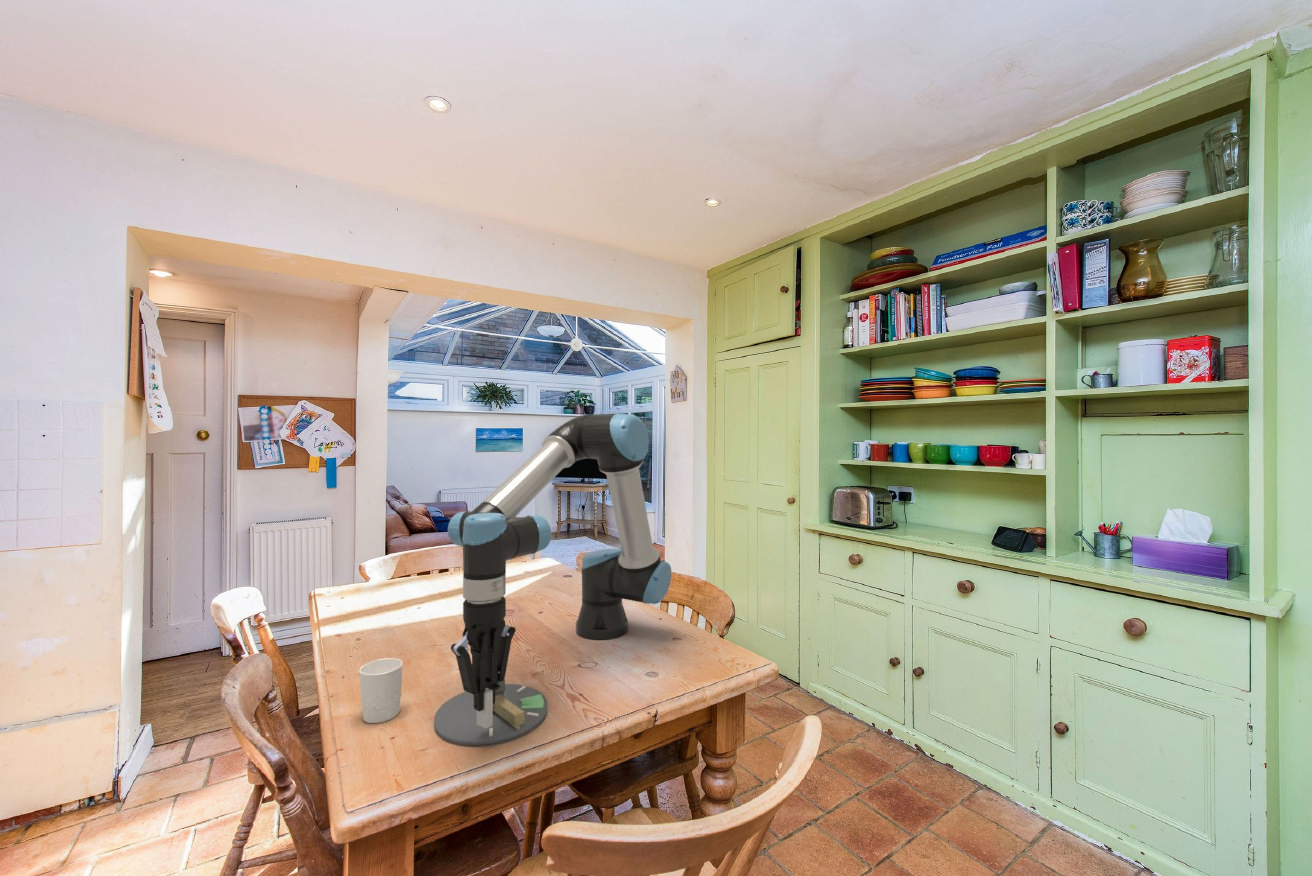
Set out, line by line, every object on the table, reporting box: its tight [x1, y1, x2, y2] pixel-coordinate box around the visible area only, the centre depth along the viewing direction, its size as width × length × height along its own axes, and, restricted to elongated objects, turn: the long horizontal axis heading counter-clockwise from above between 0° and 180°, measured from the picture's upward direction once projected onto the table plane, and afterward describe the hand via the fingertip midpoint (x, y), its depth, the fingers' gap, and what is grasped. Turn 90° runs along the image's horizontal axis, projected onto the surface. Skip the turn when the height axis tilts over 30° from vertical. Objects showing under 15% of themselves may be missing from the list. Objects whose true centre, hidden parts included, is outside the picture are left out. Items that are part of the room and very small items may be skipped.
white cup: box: [358, 657, 403, 724], centre depth 110 cm, size 8×8×10 cm
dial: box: [433, 683, 548, 747], centre depth 110 cm, size 22×22×2 cm
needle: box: [493, 679, 525, 727], centre depth 107 cm, size 13×5×5 cm, turn 45°
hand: (484, 724), depth 101 cm, fingers closed
